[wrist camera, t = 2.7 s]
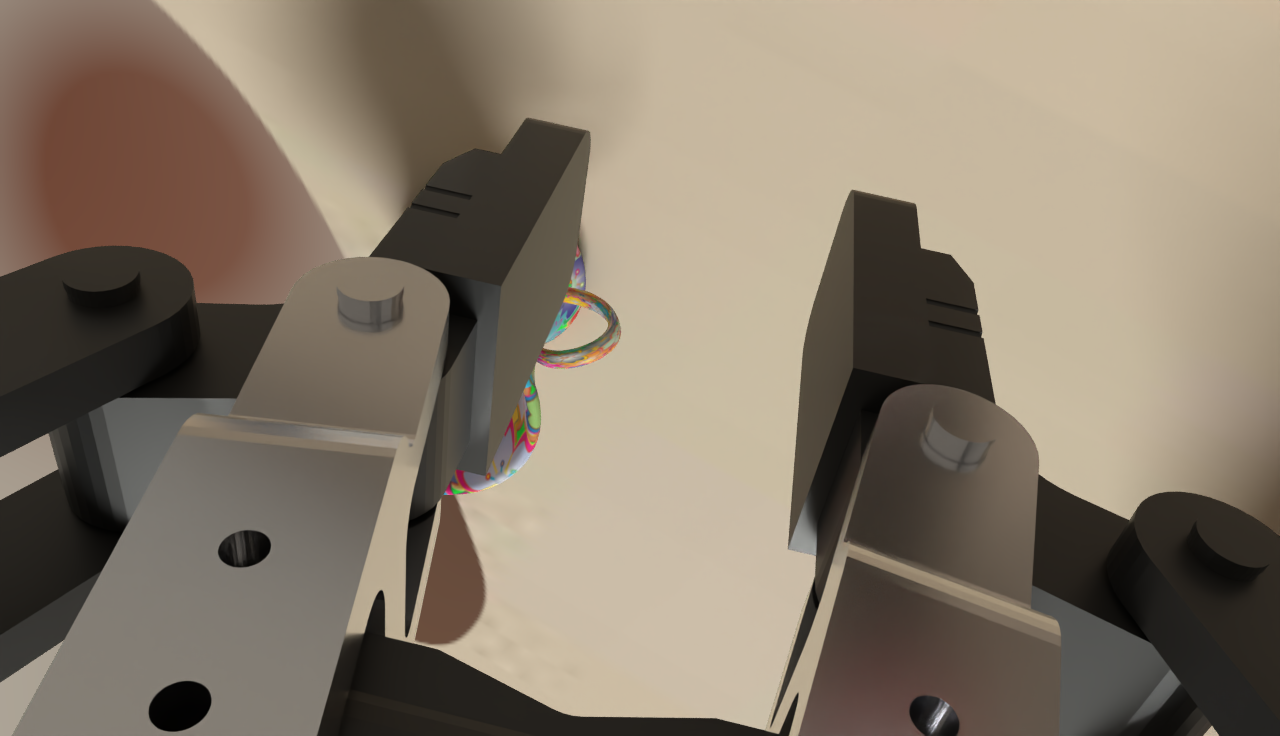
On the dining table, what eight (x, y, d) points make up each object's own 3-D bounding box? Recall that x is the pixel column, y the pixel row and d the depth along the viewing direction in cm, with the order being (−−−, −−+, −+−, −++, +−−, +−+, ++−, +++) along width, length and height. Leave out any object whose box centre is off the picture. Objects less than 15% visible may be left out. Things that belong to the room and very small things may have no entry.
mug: (446, 356, 49) (360, 506, 40) (366, 185, 44) (249, 315, 36) (680, 321, 45) (640, 478, 37) (622, 131, 40) (560, 261, 32)
